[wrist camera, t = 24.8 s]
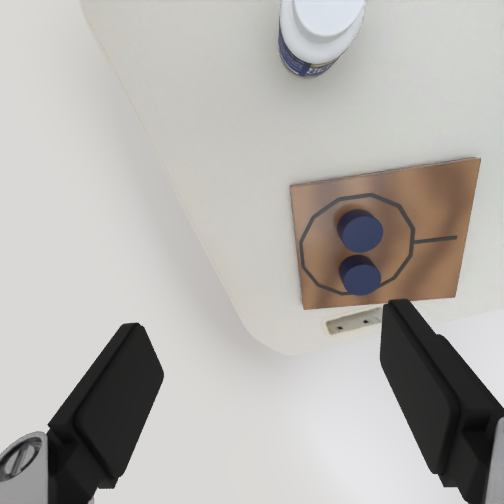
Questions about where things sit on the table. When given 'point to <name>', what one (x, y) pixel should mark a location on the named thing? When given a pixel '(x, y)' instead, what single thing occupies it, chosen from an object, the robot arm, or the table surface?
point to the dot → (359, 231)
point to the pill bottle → (317, 33)
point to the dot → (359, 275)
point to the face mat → (387, 231)
